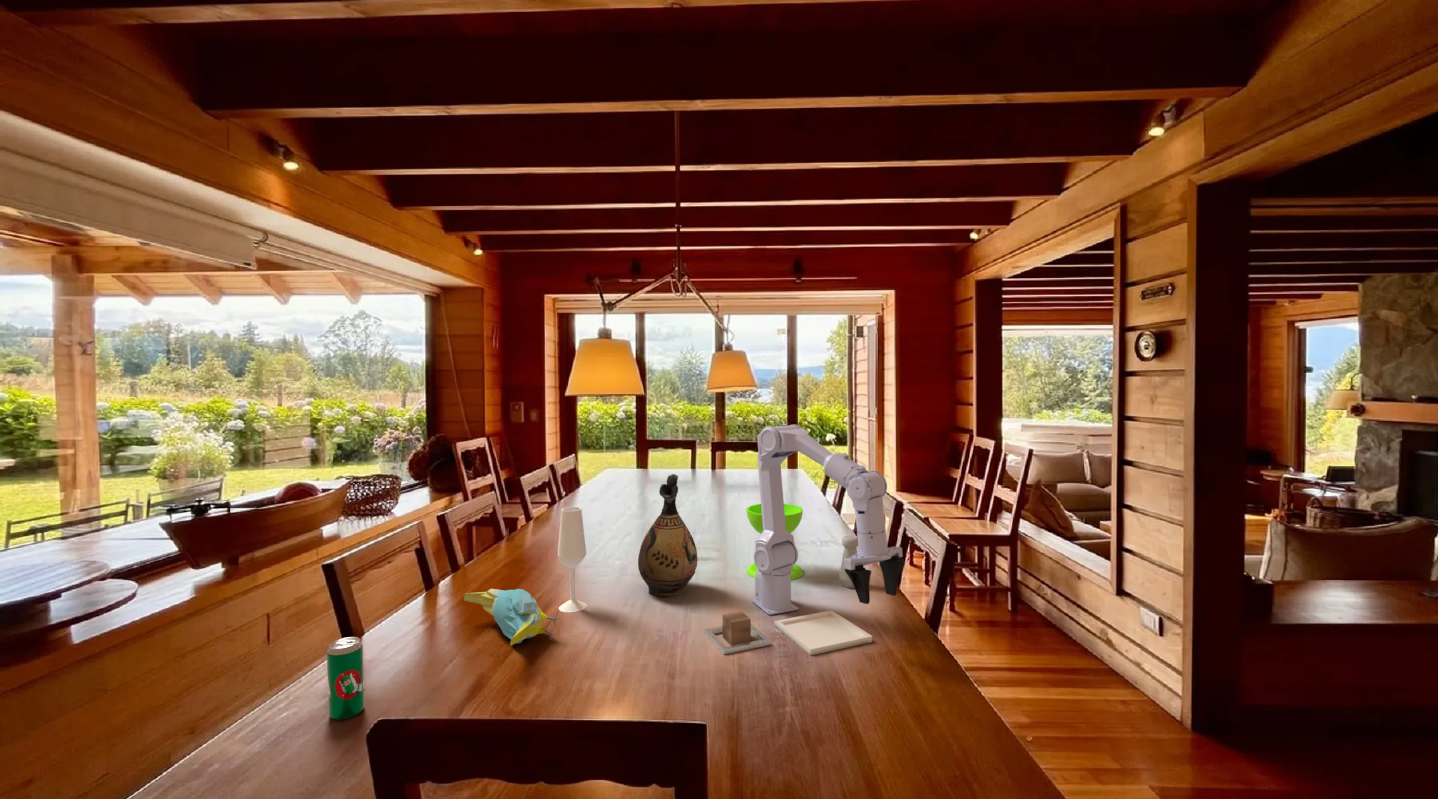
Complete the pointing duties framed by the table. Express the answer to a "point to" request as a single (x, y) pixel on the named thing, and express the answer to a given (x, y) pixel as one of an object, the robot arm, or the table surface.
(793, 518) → the wineglass
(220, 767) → the table surface
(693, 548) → the ceramic jug
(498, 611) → the decorative bird
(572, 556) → the champagne flute
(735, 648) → the frame
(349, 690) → the soda can
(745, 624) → the walnut block
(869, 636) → the tray
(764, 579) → the robot arm
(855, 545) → the salt shaker
